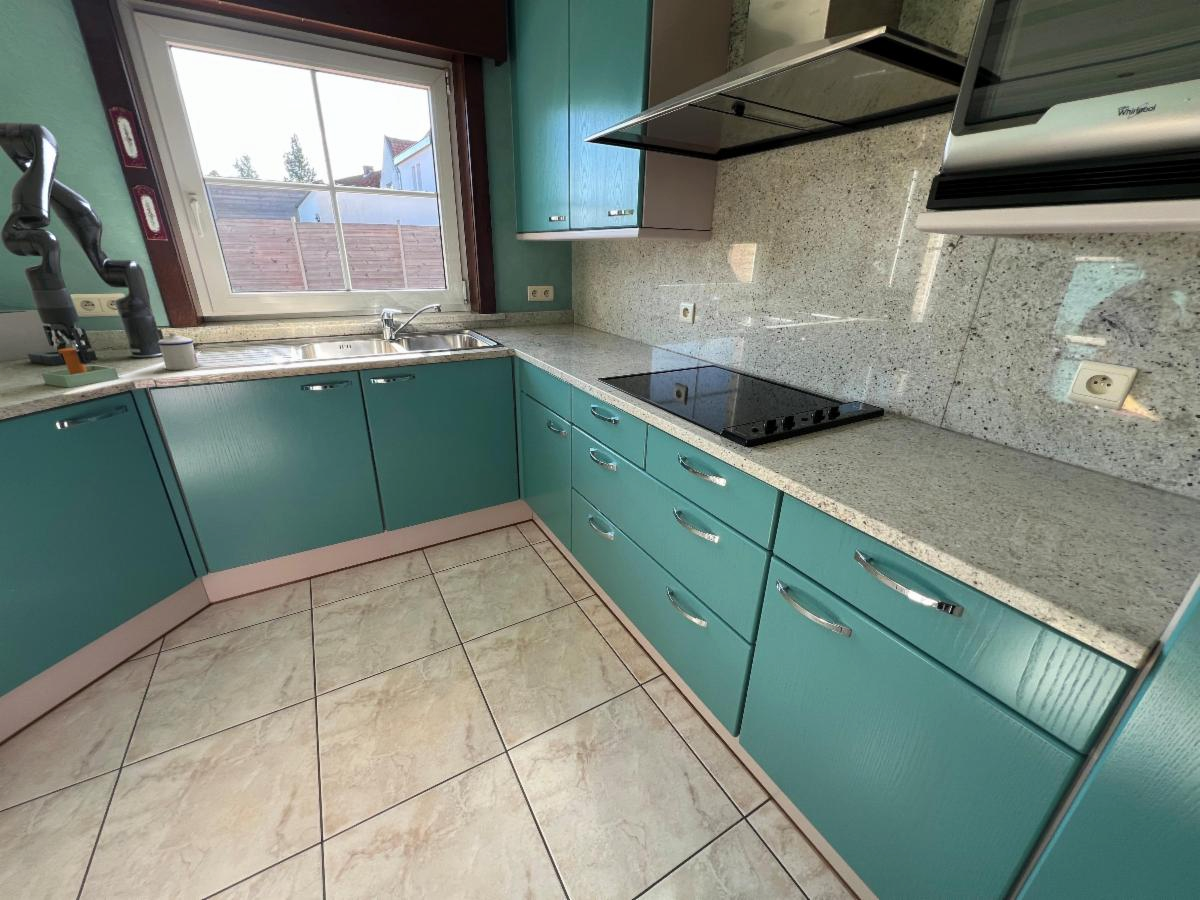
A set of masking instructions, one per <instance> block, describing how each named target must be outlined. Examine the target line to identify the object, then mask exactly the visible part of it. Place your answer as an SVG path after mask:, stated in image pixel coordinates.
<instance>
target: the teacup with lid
mask: <svg viewBox="0 0 1200 900" xmlns="http://www.w3.org/2000/svg"><path fill="white" fill-rule="evenodd" d="M168 334H169V335H166V337H164V339H162V340H159V341H158V344H159V346H160V349H161V353H162V356H161V357H162V359H163V361H164V362H163V363H164V365H165V368H166V369H167V370H169V371H181V370H190V369H195V368H198V367H199V365H200V364H199V361H198V358H197V354H196V350H195V348H194V347H195V346H193V344H194V340H193V339H192V338H191V337H190V338H189V337H185V336H183V335H179V334H178V333H177V332H174V331H172V332H171V331H170V332H169V333H168Z"/></svg>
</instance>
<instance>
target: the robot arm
mask: <svg viewBox="0 0 1200 900" xmlns="http://www.w3.org/2000/svg"><path fill="white" fill-rule="evenodd" d="M0 148H1V150H2V151H3V153H5V155H6V156H7V157H8V158H9V160H10V161H11V162H12V163H13V164H14V165H15V166H16V167H17V168H18V170H20V172H21V173H22V175H21V176H20V177H19V178H18V179H17V180H16V181H15V183H14V185H13V186H12V189H11V192H10V213H9V214H8V216H7V219H6V220H5V222H4V224H3V226H2V228H1V231H0V241H1V245H2V247H4V249H5V250H6V251H7V252H9V253H10V254H12V255H14V256H17V257H40V258H41V262H40V264H35V265H29V266H26V267H24V268H23V274H24V276H25V280H26V281H27V284H28V287H29V289H30V292H31V293H30V294H31V297H32V301H33V303H34V305H35V309H36V311H37V313H38V316H39V319H40V321H41V323H42V324H46V325H42V328H43V331H44V334H45V336H46V339H47V343H48V345H49V346H50V347H53V348H54V350H57V351H58V350H60V349H66V348H68V345H69V346H71V348H74V349H75V350H76V354H77V356H78V359H79V362H80V363H81V364H84V365H87V364H91V363H92V360H90V358H89V355H88V353H87V350H91V349H92V344H91V342H90V340H89V337H88V334H87V332H86V330H85V328H84V327H77V326H76V325H75V323H78V322H80V317H79V315H78V312H77V310H76V307H75V304H74V301H73V299H72V296H71V294H70V292H69V290H68V288H67V285H66V282H65V280H64V277H63V274H62V267H61V265H62V264H61V263H62V262H61V256H62V255H61V254H62V253H61V252H62V250H61V249H62V248H61V243H60V240H59V238H58V237H57V236H56V235H55V234H54V233H53V232H51V231H50V230H48V229H46V228H47V227H48V226H50V224H51V210H52V212H53V214H54V215H55V216H56V217H57V219H58V220H59V221H60V222H61V224H62V226H63V227H64V228H65V229H66V230H67V231H68V233H69V234H70V235H71V236H72V238H73V239H74V241H75V242H76V243H77V245H78V246H79V248H80V249H81V250H82V252H83V253H84V255H85V256H86V258H87V259H88V261H89V264H90V265H91V266H92V267H93V269H94V271H95V273H96V274H97V276H98V277H99V278H100V280H101V281H102V282H103V283H104V284H105V285H107V286H108V287H110V288H118V289H119V288H121V289H122V288H124V289H128V292H127V295H126V294H125V296H123V297H120V298H117V299H115V300H114V304H115V307H116V310H117V313H118V316H119V319H120V322H121V325H122V328H123V332H124V334H125V338H126V340H127V343H128V346H129V350H130V353H131V357H132V358H136V359H144V358H146V359H147V358H157V357H163V356H162V353H161V349H160V346H159V344H158V341H159V340H162V339H164V338H165V337H164V334H163V332H162V328H160V327H158V325H157V324H158V323H157V321H156V317H155V315H154V311H153V308H152V305H151V295H150V292H149V288H148V284H147V278H146V275H145V272H144V269H143V268H142V266H141V265H140V264H139V263H138V262H137V261H136V260H132V259H111V257H109V256H108V255H107V253H106V252H105V250H104V248H103V246H102V242H103V241H102V240H103V233H104V224H103V221H102V219H101V218H100V216H99V215H98V213H97V212H96V211H95V209H94V208H93V205H92V204H91V203H90V202H89V201H88V200H87V199H86V198H85V197H83V196H82V195H81V194H80V193H78V192H76V191H75V190H74V189H72V188H71V187H69V186H68V185H66V184H65V183H63V182H61V181H60V180H58V179H57V178H56V175H57V169H58V165H59V161H60V147H59V144H58V142H57V139H56V137H55V136H54V134H53V133H52V132H51V131H50V129H48V128H47V127H45V126H44V125H42V124H39V123H32V122H10V121H0ZM44 228H45V229H44ZM195 343H196V344H194V343H193V344H194V345H193V346H194V347H197V346H198V345H199V342H195ZM58 353H59V352H58ZM59 356H60V358H61V361H63V362H65V359H64V357H63V354H62V353H59Z"/></svg>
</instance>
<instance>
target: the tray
mask: <svg viewBox="0 0 1200 900" xmlns="http://www.w3.org/2000/svg"><path fill="white" fill-rule="evenodd" d="M85 368H86V370H87V372H85V373H79V374H73V375H70V372H69V370H68V368H63V369H58V370H52V371H51V370H50V371H45V372H41V374H42V378H43V380H44V383H45V385H49V386H50V385H51V386H57V387H62V388H74V387H79V386H84V385H91V384H95V383H102V382H107V381H113V380H118V379H119V375H118V372H117V370H116V368H115V367H111V366H106V365H97V364H90V365H85Z"/></svg>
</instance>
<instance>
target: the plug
mask: <svg viewBox="0 0 1200 900" xmlns="http://www.w3.org/2000/svg"><path fill="white" fill-rule="evenodd" d="M58 352H59V353H62V354H63V357H64V359H65V362H66V364H65V365H66V367H67V369H68V370H69V372H70V375H73V374H79V373H85V372H87V370H86V368H85V366H86V364H81V363H80V362H79V359H78V356H77V354H76V350H75V349H74V348H73V347H67V348H66V349H60V350H58Z"/></svg>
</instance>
